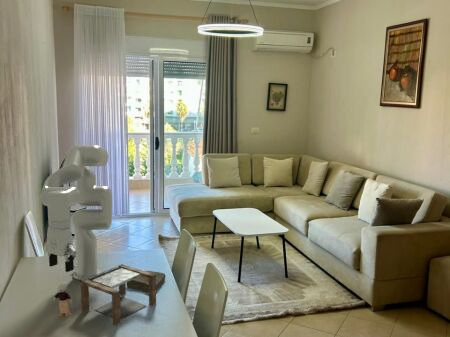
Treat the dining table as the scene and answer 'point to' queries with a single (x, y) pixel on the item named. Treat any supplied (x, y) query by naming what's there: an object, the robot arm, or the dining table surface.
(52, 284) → the dining table surface
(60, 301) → the grandmother figurine
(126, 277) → the trapdoor plate
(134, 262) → the dining table surface
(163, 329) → the dining table surface
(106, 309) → the frame
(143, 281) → the marble piece
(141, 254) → the dining table surface
